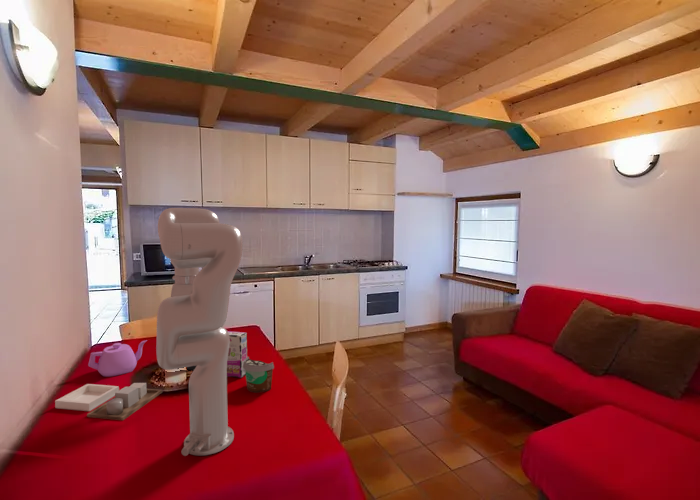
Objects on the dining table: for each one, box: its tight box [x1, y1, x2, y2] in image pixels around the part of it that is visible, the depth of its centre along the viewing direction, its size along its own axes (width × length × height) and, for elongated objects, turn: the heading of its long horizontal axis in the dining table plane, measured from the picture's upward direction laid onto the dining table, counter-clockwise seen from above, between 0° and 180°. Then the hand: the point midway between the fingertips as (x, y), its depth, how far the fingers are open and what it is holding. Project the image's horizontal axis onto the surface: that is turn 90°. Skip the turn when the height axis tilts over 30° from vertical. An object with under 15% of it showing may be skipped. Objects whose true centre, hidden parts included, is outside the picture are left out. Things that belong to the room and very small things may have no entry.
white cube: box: [128, 382, 148, 398], centre depth 123 cm, size 4×4×4 cm
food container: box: [243, 356, 275, 394], centre depth 129 cm, size 12×6×10 cm, turn 62°
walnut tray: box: [86, 388, 163, 421], centre depth 118 cm, size 18×12×1 cm, turn 172°
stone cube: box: [114, 386, 139, 408], centre depth 118 cm, size 4×4×4 cm
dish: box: [54, 383, 120, 412], centre depth 120 cm, size 12×12×3 cm
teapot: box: [87, 339, 148, 378], centre depth 144 cm, size 13×20×11 cm, turn 128°
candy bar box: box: [227, 330, 248, 379], centre depth 142 cm, size 11×5×16 cm, turn 76°
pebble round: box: [105, 398, 123, 415], centre depth 112 cm, size 4×4×4 cm
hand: (188, 328), depth 127 cm, fingers open, 9 cm apart
